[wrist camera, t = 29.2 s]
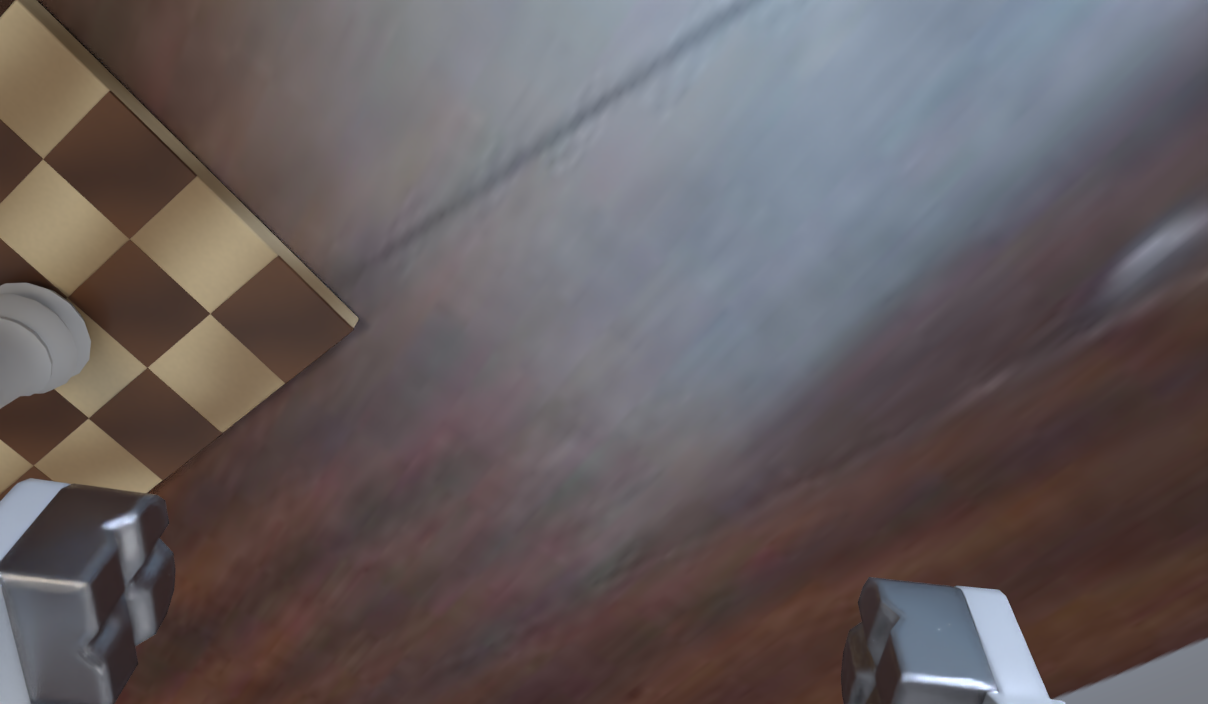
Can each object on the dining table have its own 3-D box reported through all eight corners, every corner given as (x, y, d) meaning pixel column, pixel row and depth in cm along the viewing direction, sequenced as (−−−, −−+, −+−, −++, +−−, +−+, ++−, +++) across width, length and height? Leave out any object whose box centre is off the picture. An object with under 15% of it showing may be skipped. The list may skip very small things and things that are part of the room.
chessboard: (-247, 309, 42) (-267, 320, 41) (31, -7, 35) (14, -2, 34) (66, 551, 48) (54, 566, 47) (360, 318, 41) (353, 330, 40)
